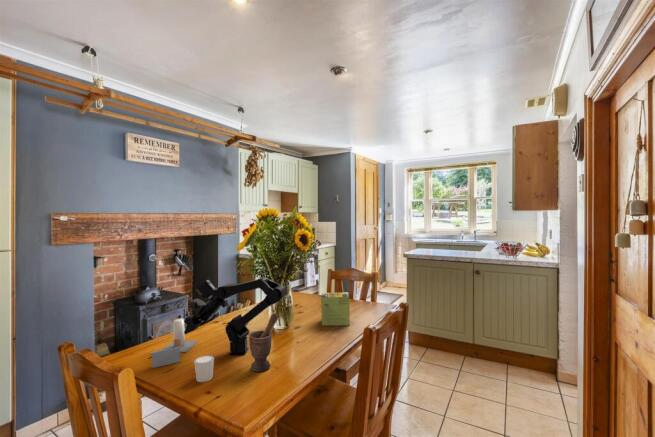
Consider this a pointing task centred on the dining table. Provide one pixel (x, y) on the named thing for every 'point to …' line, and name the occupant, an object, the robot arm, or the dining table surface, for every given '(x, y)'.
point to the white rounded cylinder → (179, 333)
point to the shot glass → (204, 368)
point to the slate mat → (183, 349)
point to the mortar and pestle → (262, 346)
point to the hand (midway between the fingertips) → (191, 329)
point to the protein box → (335, 308)
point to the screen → (165, 357)
